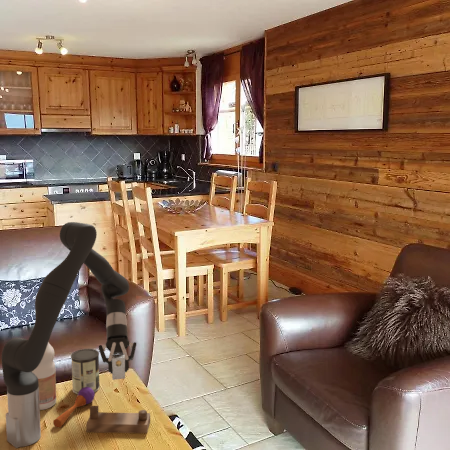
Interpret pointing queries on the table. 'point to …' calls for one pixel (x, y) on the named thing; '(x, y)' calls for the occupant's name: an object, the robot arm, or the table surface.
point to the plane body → (117, 422)
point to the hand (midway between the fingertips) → (118, 372)
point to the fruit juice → (46, 379)
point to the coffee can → (85, 369)
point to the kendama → (76, 405)
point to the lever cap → (118, 366)
